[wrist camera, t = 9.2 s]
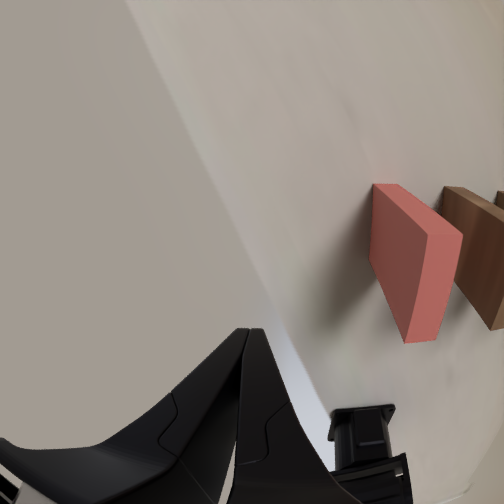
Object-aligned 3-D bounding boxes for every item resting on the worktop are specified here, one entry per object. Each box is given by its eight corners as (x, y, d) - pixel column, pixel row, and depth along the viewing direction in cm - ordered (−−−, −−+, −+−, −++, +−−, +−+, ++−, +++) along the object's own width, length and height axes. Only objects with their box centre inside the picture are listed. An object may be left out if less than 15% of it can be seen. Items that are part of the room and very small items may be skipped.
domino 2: (463, 187, 15) (540, 234, 8) (452, 256, 17) (510, 326, 10) (444, 186, 15) (520, 234, 8) (434, 257, 17) (490, 330, 10)
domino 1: (397, 184, 16) (463, 234, 9) (391, 259, 18) (435, 340, 11) (373, 183, 16) (428, 234, 9) (368, 259, 18) (404, 343, 11)
